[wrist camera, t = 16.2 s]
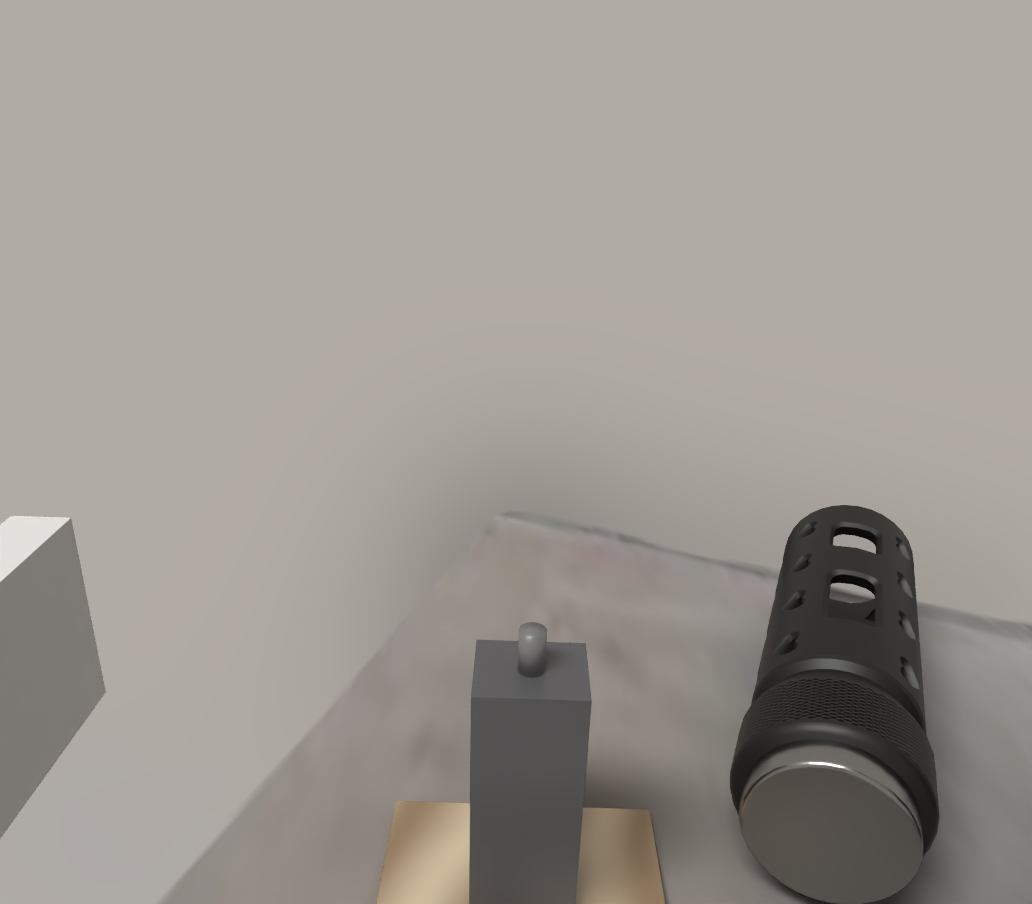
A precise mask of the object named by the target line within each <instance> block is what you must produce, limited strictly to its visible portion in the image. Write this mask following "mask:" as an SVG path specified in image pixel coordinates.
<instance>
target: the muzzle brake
mask: <svg viewBox="0 0 1032 904" xmlns="http://www.w3.org/2000/svg"><path fill="white" fill-rule="evenodd" d="M841 534H846V535H855V536H859V537H862V538H866V539H868V540H870V541H872V542H873V543H874V544H875V546H876V554H874V553H871V552H868V551H864V550H861V549H858V548H851V547H842V546H834V545H833V537H835V536H837V535H841ZM912 555H913V554H912V550H911V547H910V544H909V541H908V539H907V538H906V536H905V535H904V533H903V532H902V531H901V530H900V529H899V528H898V527H897V526H896V525H895V524H894V523H893V522H892V521H891V520H889V519H888V518H886V517H885V516H883V515H882V514H879V513H877V512H875V511H873V510H870V509H866V508H862V507H859V506H848V505H840V506H831V507H827V508H823V509H820V510H818V511H815V512H813V513H811V514H809V515H808V516H806V517H805V518H803V519H802V520H801V521H800V522H799V523H798V524H797V525H796V526H795V528H794V529H793V530H792V532H791V534H790V536H789V537H788V540H787V544H786V548H785V552H784V556H783V564H782V567H781V570H780V575H779V579H778V584H777V588H776V594H775V600H774V604H773V607H772V611H771V616H770V621H769V625H768V630H767V638H766V641H765V645H764V648H763V653H762V657H761V662H760V667H759V671H758V678H757V684H756V687H755V691H754V694H753V699H752V705H751V706H750V708H749V710H748V711H747V713H746V714H745V716H744V718H743V722H742V725H741V728H740V732H739V736H738V741H737V745H736V749H735V754H734V758H733V763H732V767H731V771H730V789H731V794H732V799H733V803H734V806H735V808H736V810H737V812H738V815H739V822H740V827H741V832H742V835H743V837H744V839H745V842H746V844H747V846H748V848H749V850H750V851H751V853H752V854H753V856H754V857H755V859H756V860H757V861H758V862H759V863H760V864H761V866H762V867H763V868H764V869H765V870H766V871H767V872H768V873H769V874H771V875H772V876H773V877H775V878H776V879H777V880H778V881H780V882H781V883H782V884H784V885H786V886H787V887H789V888H791V889H793V890H794V891H796V892H798V893H800V894H803V895H805V896H808V897H810V898H813V899H816V900H820V901H824V902H828V903H836V904H865V903H871V902H876V901H880V900H882V899H885V898H887V897H890V896H892V895H894V894H896V893H897V892H899V891H900V890H902V889H903V888H905V887H906V886H907V884H908V883H909V882H910V881H911V880H912V879H913V878H914V876H915V875H916V873H917V871H918V869H919V866H920V864H921V862H922V857H923V856H924V855H925V853H926V852H927V851H928V850H929V849H930V847H931V845H932V842H933V840H934V838H935V836H936V834H937V829H938V823H939V806H938V794H937V783H936V771H935V762H934V754H933V751H932V749H931V746H930V743H929V741H928V738H927V736H926V723H925V710H924V696H923V683H922V669H921V656H920V643H919V629H918V616H917V603H916V591H915V590H916V589H915V576H914V562H913V556H912ZM832 583H847V584H854V585H857V586H860V587H863V588H866V589H868V590H869V591H871V592H872V593H873V594H874V595H875V599H873V600H870V601H868V602H863V603H852V604H850V603H846V602H841V601H836V600H832V599H829V595H830V585H831V584H832Z"/></svg>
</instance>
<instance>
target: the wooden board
mask: <svg viewBox="0 0 1032 904" xmlns="http://www.w3.org/2000/svg"><path fill="white" fill-rule="evenodd" d="M469 859H470V804H469V803H440V802H411V801H396V804H395V809H394V814H393V819H392V825H391V830H390V835H389V840H388V845H387V851H386V856H385V861H384V866H383V871H382V877H381V882H380V887H379V892H378V897H377V903H376V904H469ZM576 904H665V900H664V894H663V888H662V882H661V876H660V870H659V864H658V858H657V852H656V846H655V840H654V834H653V828H652V822H651V816H650V810H646V809H616V808H587V807H583V816H582V829H581V841H580V854H579V867H578V880H577V892H576Z"/></svg>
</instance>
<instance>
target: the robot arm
mask: <svg viewBox="0 0 1032 904" xmlns="http://www.w3.org/2000/svg"><path fill="white" fill-rule="evenodd" d="M105 692H106V691H105V686H104V681H103V676H102V671H101V666H100V661H99V656H98V651H97V646H96V641H95V636H94V631H93V626H92V621H91V617H90V611H89V606H88V601H87V596H86V591H85V586H84V581H83V576H82V570H81V566H80V561H79V555H78V550H77V546H76V541H75V535H74V530H73V525H72V521H71V518H60V517H59V518H58V517H29V516H11V517H9V518H8V519H7V520H6V521H5V522H3V523H2V524H1V525H0V838H1V837H2V836H3V834H4V833H5V831H6V830H7V829H8V827H9V826H10V824H11V823H12V822H13V820H14V819H15V817H16V816H17V815H18V813H19V812H20V811H21V809H22V808H23V806H24V805H25V804H26V802H27V801H28V799H29V798H30V797H31V795H32V794H33V793H34V791H35V790H36V788H37V787H38V786H39V784H40V783H41V781H42V780H43V779H44V777H45V776H46V774H47V773H48V772H49V770H50V769H51V767H52V766H53V765H54V763H55V762H56V760H57V759H58V758H59V756H60V755H61V753H62V752H63V751H64V749H65V748H66V747H67V745H68V744H69V742H70V741H71V740H72V738H73V737H74V736H75V734H76V732H77V731H78V730H79V729H80V727H81V726H82V724H83V723H84V722H85V720H86V719H87V717H88V716H89V715H90V713H91V712H92V711H93V709H94V708H95V706H96V705H97V703H98V702H99V701H100V699H101V698H102V697H103V695H104V694H105Z"/></svg>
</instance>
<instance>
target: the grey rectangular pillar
mask: <svg viewBox="0 0 1032 904" xmlns="http://www.w3.org/2000/svg"><path fill="white" fill-rule="evenodd" d="M546 639H547V629H546V627H545V626H543V625H542V624H539V623H534V622H530V623H525V624H523V625H521V626H520V628H519V640H518V641H498V640H477V642H476V652H475V662H474V672H473V682H472V692H471V753H470V859H469V904H576V892H577V880H578V867H579V854H580V841H581V829H582V816H583V803H584V791H585V778H586V765H587V752H588V740H589V727H590V714H591V702H592V701H591V691H590V681H589V671H588V661H587V652H586V643H558V642H546Z"/></svg>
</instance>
